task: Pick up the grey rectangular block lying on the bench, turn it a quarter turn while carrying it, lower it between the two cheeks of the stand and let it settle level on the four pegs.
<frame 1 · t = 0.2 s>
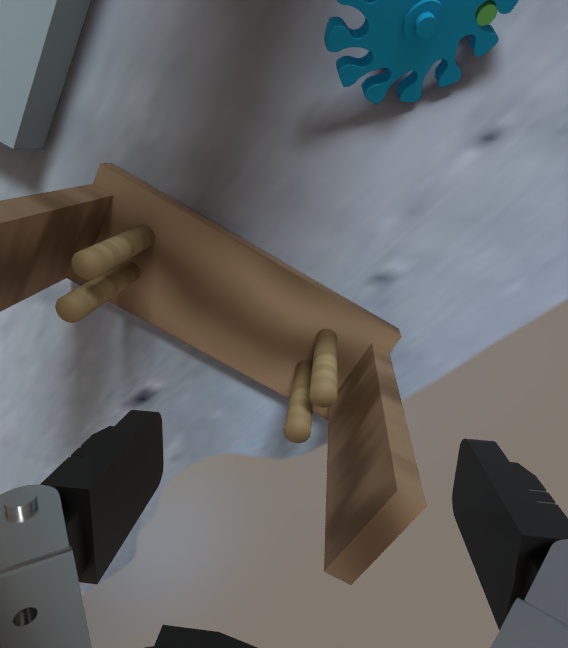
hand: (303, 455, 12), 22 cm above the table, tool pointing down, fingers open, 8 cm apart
stand: (232, 298, 34), on the table
gear: (417, 28, 27), on the table
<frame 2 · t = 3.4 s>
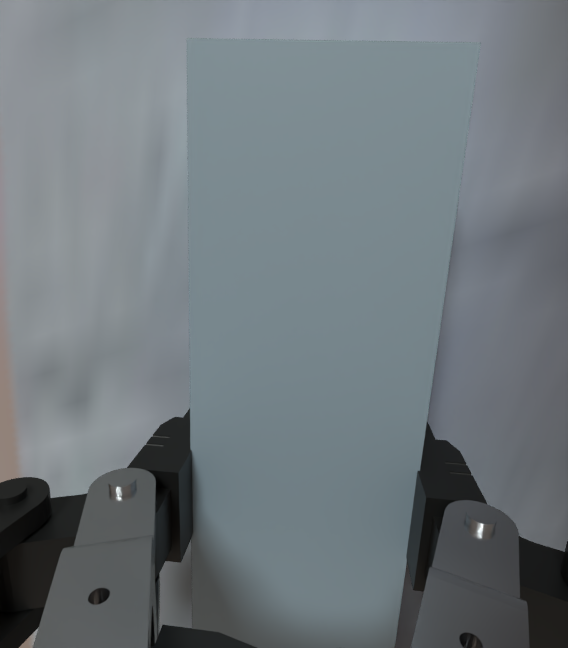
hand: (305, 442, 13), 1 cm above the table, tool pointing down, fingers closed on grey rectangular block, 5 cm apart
grey rectangular block: (308, 421, 13), on the table, touching gripper
when the fingers open (11 cm above the table, at t = 9.5 s): grey rectangular block drops 1 cm, resting on stand.
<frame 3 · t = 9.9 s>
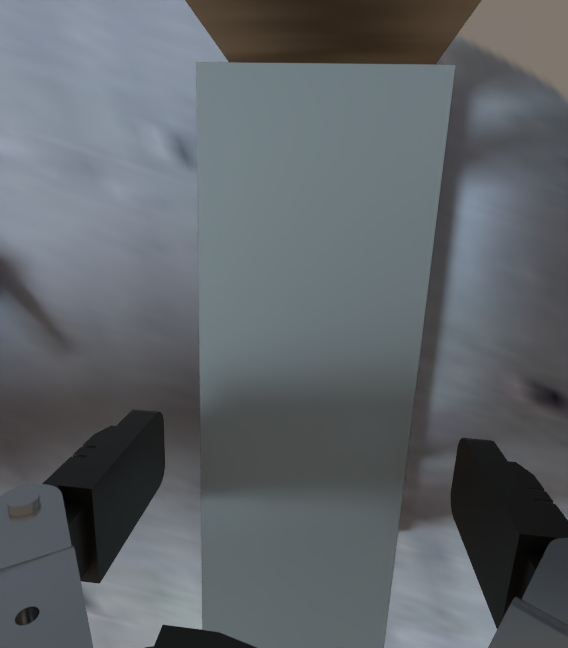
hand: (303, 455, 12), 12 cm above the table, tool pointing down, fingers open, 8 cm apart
stand: (317, 332, 24), on the table
grey rectangular block: (307, 409, 14), point 9 cm above the table, touching stand
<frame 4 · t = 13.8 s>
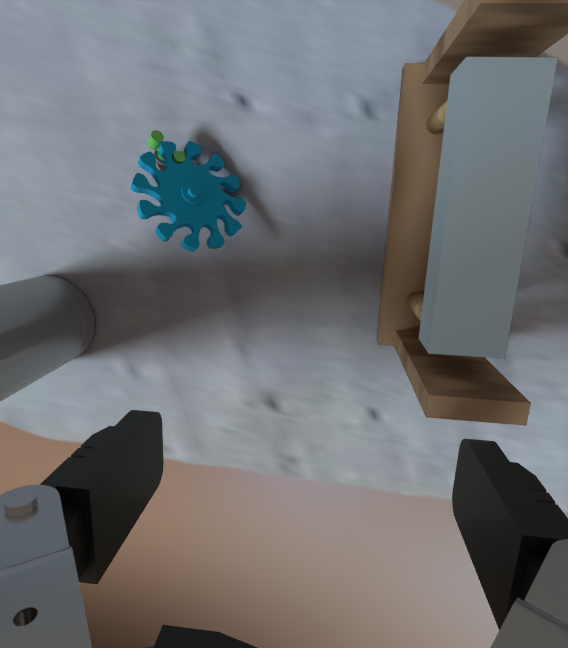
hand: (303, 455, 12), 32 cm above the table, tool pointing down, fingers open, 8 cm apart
stand: (439, 216, 40), on the table
gear: (200, 192, 42), on the table
grey rectangular block: (470, 217, 31), point 9 cm above the table, touching stand
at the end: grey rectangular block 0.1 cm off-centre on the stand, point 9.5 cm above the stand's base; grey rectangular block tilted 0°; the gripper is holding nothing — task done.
